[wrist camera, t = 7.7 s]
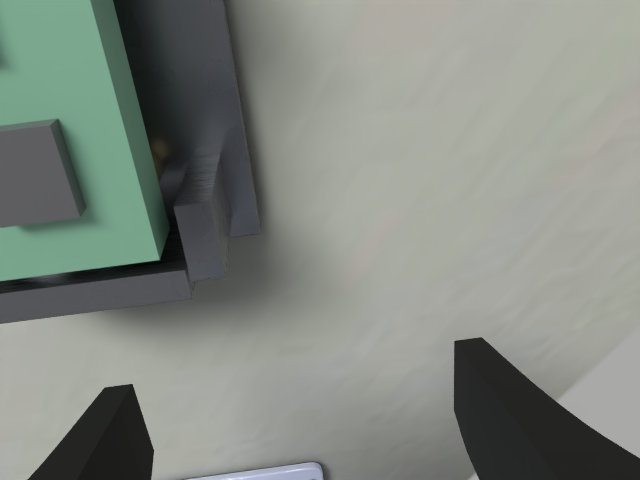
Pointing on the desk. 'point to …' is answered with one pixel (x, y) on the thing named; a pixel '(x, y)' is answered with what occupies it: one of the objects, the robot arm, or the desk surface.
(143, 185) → the board
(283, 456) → the desk surface
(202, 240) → the chassis
